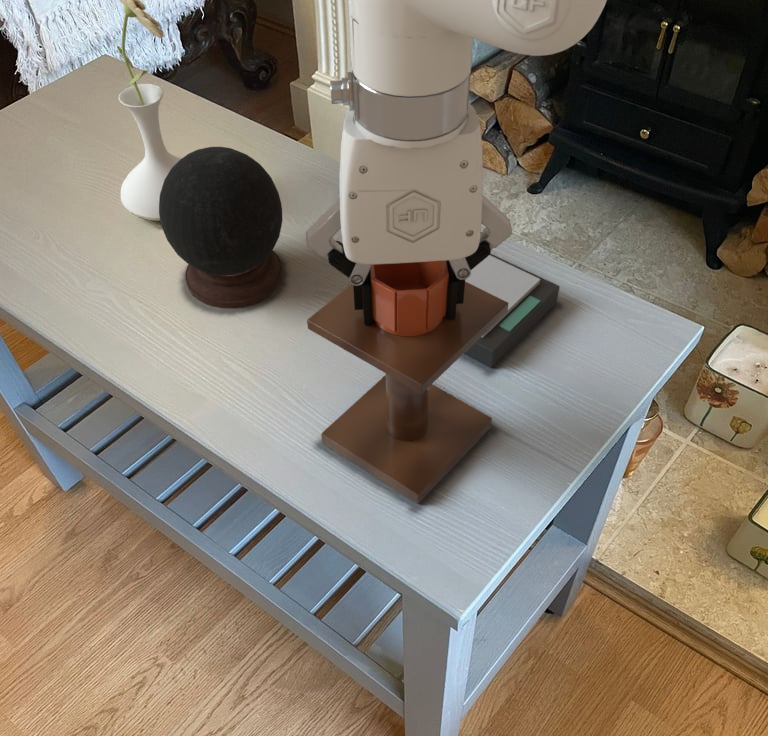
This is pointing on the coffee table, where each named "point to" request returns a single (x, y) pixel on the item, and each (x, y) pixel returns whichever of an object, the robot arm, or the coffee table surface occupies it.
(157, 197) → the flower in vase
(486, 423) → the stand
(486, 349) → the scale
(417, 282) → the bowl
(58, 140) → the coffee table surface
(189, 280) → the black orb ornament
